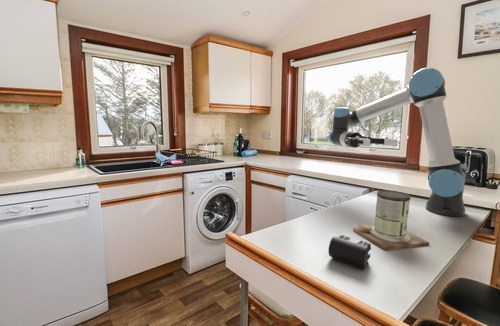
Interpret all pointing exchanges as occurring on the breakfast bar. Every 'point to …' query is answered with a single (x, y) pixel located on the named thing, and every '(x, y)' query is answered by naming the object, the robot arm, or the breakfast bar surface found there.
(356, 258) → the end cap
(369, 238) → the carrier board
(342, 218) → the breakfast bar surface
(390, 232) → the coffee can
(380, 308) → the breakfast bar surface
